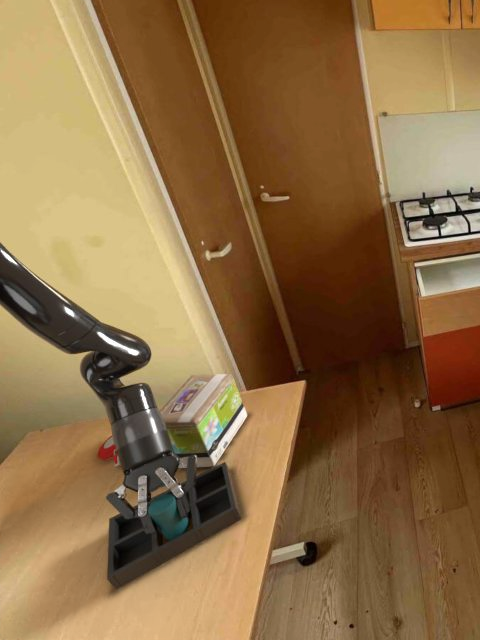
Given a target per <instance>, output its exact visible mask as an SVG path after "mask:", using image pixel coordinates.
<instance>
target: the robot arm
mask: <svg viewBox="0 0 480 640" xmlns="http://www.w3.org/2000/svg"><path fill="white" fill-rule="evenodd" d="M0 307H1V308H2V309H4V310H5V311H6V312H7V313H8V314H10V315H11V317H13V319H15V320H16V321H17V322H18V323H20V324H21V325H22V326H23V327H24V328H26V329H27V330H28V331H29V332H31V333H32V334H34V335H35V336H37V337H38V338H40V339H42V341H44V342H46V343H48V344H50V346H52V347H54V348H55V349H57V350H59V351H60V352H62V353H65V354H67V355H79V354H85V355H84V356H83V357H82V359H81V361H80V363H79V373H80V376H81V378H82V379H83V381H84V382H85V383H86V384H87V385H88V387H89V388H90V389H91V390H92V392H93V393H94V394H95V396H96V397H97V398H98V400H99V401H100V402H101V403H102V405H103V407H104V408H105V409H104V410H105V412H106V415H107V418H108V422H109V425H110V428H111V436H112V437H113V441H114V444H115V447H116V450H117V453H118V457H119V460H120V463H121V465H120V466H121V469H122V472H123V475H124V476H123V481H122V484H121V485H120V486H119V487H118V488H116V489H115V490H114V491H112V492H109V493H107V494H106V496H105V498H106V500H107V502H109V504H110V505H111V506H112V507H113V508H114V509H115V510H116V511H117V512H118V514H121V515H122V516H123V517H124V518H125V519H131V518H136V517H138V518H140V519H141V522H142V525H143V528H144V531H145V533H146V534H148V533H150V534H151V536H152V535H154V534H156V533H157V532H158V528H157V525H156V524H155V522H154V521H153V519H152V518H151V516H150V515H149V513H148V508H149V506H150V503H151V498H152V493H154V492H155V491H157V490H158V489H160V488H163V487H166V488H167V489H168V490H169V489H170V490H171V491H172V492H173V494H174V495H175V496H176V498H177V500H176V503H177V506H178V509H179V513H180V516H181V518H182V519H184V518H186V517H187V516H188V512H190V505H189V502H188V499H187V496H186V495H187V492H188V491H189V490H190V489H192V488H193V487H194V486H195V485H196V476H197V470H198V467H197V456H196V455H191V456H189V457H183V458H180V457H179V456H177V455H176V454H175V452H174V449H173V446H172V444H171V441H170V438H169V435H168V432H167V429H166V428H167V427H166V424H165V423H164V420H163V417H162V415H161V414H160V412H159V411H160V410H159V408H158V404H157V402H156V399H155V396H154V391H153V390H152V388H151V386H150V384H148V383H146V382H137V383H132V384H128V385H125V384H124V383H123V382H122V380H121V378H123V377H126V376H128V375H130V374H133V373H134V372H137V371H139V370H142V369H144V368H145V367H146V366H148V365H149V363H150V362H151V360H152V355H153V353H152V350H151V347H150V346H149V344H148V343H147V342H146V341H145V340H144V339H142V338H141V337H140V336H137V335H136V334H133V333H132V332H129V331H125V330H123V329H120V328H118V327H115V326H113V325H111V324H107V323H105V322H102V321H100V320H99V319H98V318H96V317H95V316H94V315H92V314H91V313H90V312H88V311H87V310H85V309H84V308H83V307H81V306H80V305H78V304H77V303H76V302H75V301H73V300H72V299H70V298H69V297H67V296H66V295H65V294H64V293H62V292H60V291H59V290H57V289H56V288H54V287H53V286H52V285H51V284H50V283H48V282H46V281H45V280H43V279H42V278H41V277H40V276H38V275H37V274H36V273H35V272H33V270H31V269H30V268H28V267H27V266H26V265H25V264H23V262H22V261H20V260H19V259H18V258H17V257H16V256H15V255H13V253H11V252H10V250H9V249H7V247H6V246H5V245H3V243H2V242H0ZM180 463H182V464H183V467H184V468H183V469H186V480H185V481H186V485H185V486H184V487H182V486H181V482H180V481H179V480H178V478H177V477H176V474H177V471H178V469H179V468H178V467H179V464H180ZM127 489H128V490H130V491H132V492H135V493H137V503H138V504H139V509H137V510H135V509H134V508H133V507H134V506H133V505H132V504H131V503H130V502H129V501H128V500H127V499H126V497H127V494H128V493H127Z"/></svg>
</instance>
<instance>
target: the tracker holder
mask: <svg viewBox="0 0 480 640" xmlns="http://www.w3.org/2000/svg"><path fill="white" fill-rule="evenodd" d="M97 458H98V459H99V460H101V461H107V460H110V459H112V458H113V467H115V468H117V467H118V466H121V463H120V460H119V457H118V453H117V450H116V447H115V444H114V441H113V437H112V435H110V436H109V437H108V438H107V439H106V440H105V441H104V442H103V443H102V445H101V446H100V447H99V449H98V451H97Z"/></svg>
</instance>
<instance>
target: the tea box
mask: <svg viewBox="0 0 480 640" xmlns="http://www.w3.org/2000/svg"><path fill="white" fill-rule="evenodd" d="M159 412H160V414H161V415H162V417H163V420H164V423H165V424H166V427H167V428H166V429H167V432H168V435H169V438H170V441H171V444H172V446H173V449H174V452H175V454H176V455H177V456H179V457H180V458H183V457H189V456H191V455H196V456H197V468H211V467H212V468H213V467H216V464H217V463H218V461H219V460H220V458H221V457H222V455H223V454H224V452H225V451H226V449H227V448H228V447H229V445H230V443H231V442H232V440H233V438H234V437H235V436H236V434H237V433H238V431H239V429H240V427H242V425H243V423H244V422H245V421H246V419H247V417H248V413H247V410H246V407H245V406H244V403H243V400H242V397H241V395H240V392H239V389H238V386H237V384H236V381H235V379H234V376H233V374H232V373H220V374H219V373H217V374H215V373H214V374H191V375H190V376H189V378H188V379H186V381H185V382H184V383H183V384H182V385H181V386H180V388H179V389H177V391H176V392H175V393H174V395H173V396H172V397H171V398H170V399H169V400H168V401H167V402H166V404H164V405H163V406H162V408H161V409H160V410H159ZM178 469H185V468H184V467H183V464H182V463H180V464H179V467H178Z"/></svg>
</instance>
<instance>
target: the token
mask: <svg viewBox="0 0 480 640" xmlns="http://www.w3.org/2000/svg"><path fill="white" fill-rule="evenodd" d="M148 513H149V515H150V516H151V518H152V519H153V521H154V522H155V524H156V525H157V526H158V528H159V529H160V531H161V532H162V534H163V535H164V537H165V538H166V539H168V540H173V539H174V538H176V537H178V536H180V535H182V534H184V533H185V532H186V530H187V529H188V527H189V525H190V521H189V519H188V518H187V517H186V518H184V519H182V518H181V516H180V513H179V509H178V506H177V503H176V499H175V497H174V496H173V495H172V494H165V495H162V496H160V497H159V498H157V499H156V500H154V501H153V502H152V503H151V505H150V506H149V508H148Z"/></svg>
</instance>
